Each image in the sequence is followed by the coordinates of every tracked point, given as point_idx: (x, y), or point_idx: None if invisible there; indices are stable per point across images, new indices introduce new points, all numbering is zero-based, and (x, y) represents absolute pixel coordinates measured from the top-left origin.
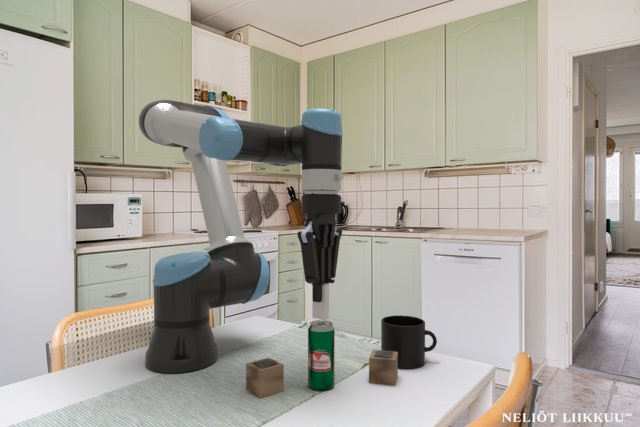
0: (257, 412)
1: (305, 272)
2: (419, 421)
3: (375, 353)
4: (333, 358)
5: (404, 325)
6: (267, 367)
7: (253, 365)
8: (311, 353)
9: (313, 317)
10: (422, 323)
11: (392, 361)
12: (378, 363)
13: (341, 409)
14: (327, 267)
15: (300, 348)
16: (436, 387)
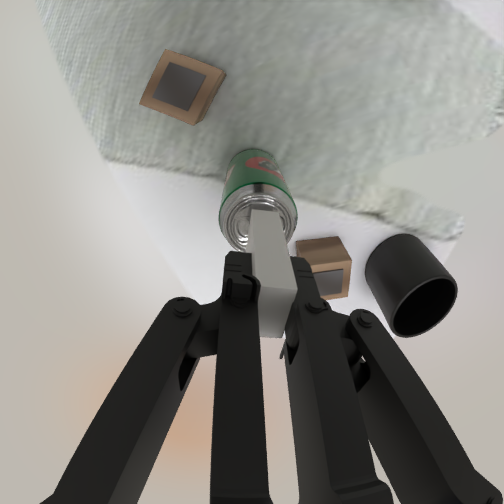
0: (116, 128)
1: (146, 341)
2: None
3: (325, 272)
4: None
5: (444, 290)
6: (163, 103)
7: (159, 71)
8: (225, 184)
9: (251, 213)
10: (422, 327)
11: None
12: None
13: (186, 233)
14: (290, 398)
15: (423, 74)
16: None
